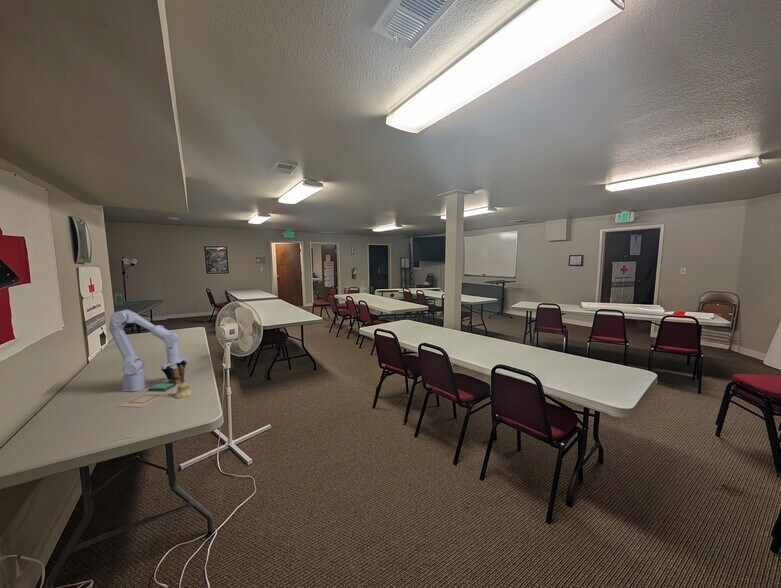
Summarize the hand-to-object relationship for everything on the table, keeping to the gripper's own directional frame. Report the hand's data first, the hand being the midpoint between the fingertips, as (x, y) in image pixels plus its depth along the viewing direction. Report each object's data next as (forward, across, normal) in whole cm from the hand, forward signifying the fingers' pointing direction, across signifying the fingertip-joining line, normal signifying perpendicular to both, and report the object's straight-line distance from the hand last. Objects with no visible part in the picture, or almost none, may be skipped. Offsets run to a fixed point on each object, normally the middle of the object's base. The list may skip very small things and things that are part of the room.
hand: (175, 376), depth 170 cm
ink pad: (+3, -8, +1) cm, 9 cm away
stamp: (+3, 0, 0) cm, 3 cm away
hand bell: (+4, -15, -19) cm, 24 cm away
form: (+3, -21, -2) cm, 21 cm away
